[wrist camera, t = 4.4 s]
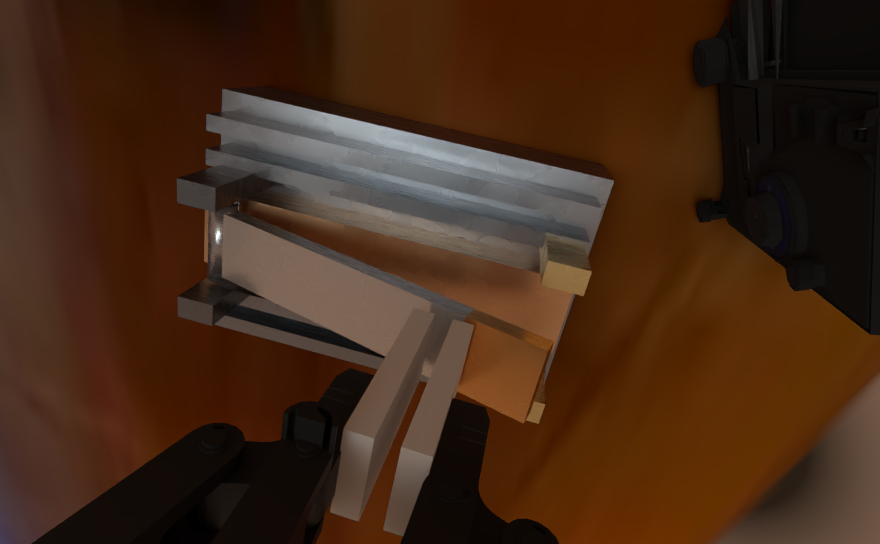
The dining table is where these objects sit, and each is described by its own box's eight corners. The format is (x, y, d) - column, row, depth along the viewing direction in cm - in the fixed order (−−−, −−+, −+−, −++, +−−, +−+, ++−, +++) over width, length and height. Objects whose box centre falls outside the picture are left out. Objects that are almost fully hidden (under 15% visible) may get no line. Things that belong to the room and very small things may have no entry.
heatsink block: (252, 287, 32) (154, 364, 23) (264, 86, 27) (146, 93, 19) (537, 362, 30) (538, 473, 22) (602, 164, 25) (635, 210, 17)
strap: (222, 269, 24) (201, 276, 23) (225, 196, 23) (202, 200, 22) (529, 415, 19) (519, 433, 18) (558, 332, 17) (548, 345, 16)
